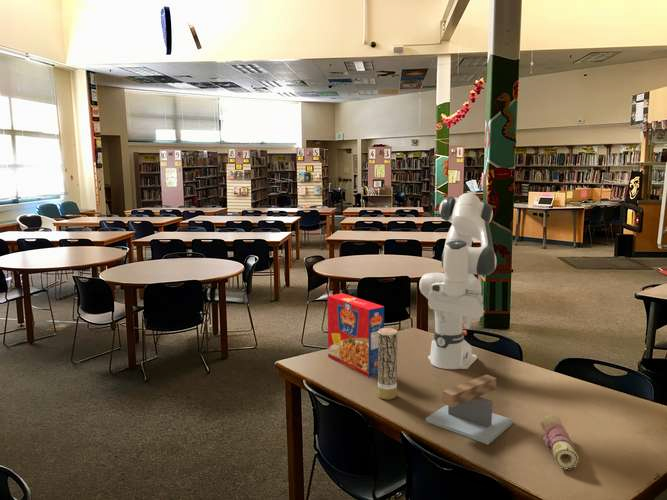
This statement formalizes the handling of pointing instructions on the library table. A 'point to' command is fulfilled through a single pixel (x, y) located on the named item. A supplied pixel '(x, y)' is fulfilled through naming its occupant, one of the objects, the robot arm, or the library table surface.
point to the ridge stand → (471, 420)
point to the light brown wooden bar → (468, 390)
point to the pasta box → (354, 332)
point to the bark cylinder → (387, 363)
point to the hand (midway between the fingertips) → (454, 325)
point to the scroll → (559, 442)
